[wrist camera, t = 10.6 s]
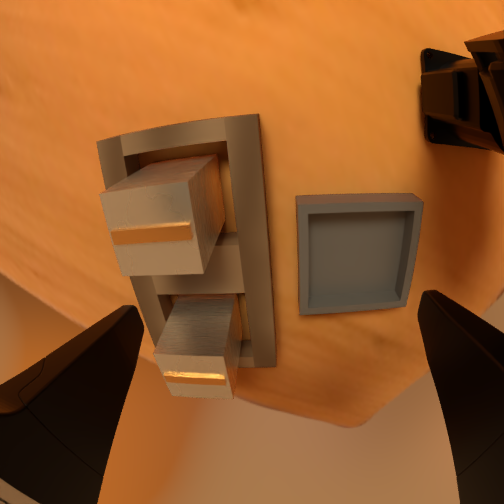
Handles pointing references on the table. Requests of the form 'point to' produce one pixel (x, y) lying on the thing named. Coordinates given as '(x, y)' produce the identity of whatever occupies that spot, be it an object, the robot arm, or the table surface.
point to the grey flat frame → (228, 244)
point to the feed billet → (201, 346)
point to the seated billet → (166, 216)
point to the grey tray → (356, 250)
